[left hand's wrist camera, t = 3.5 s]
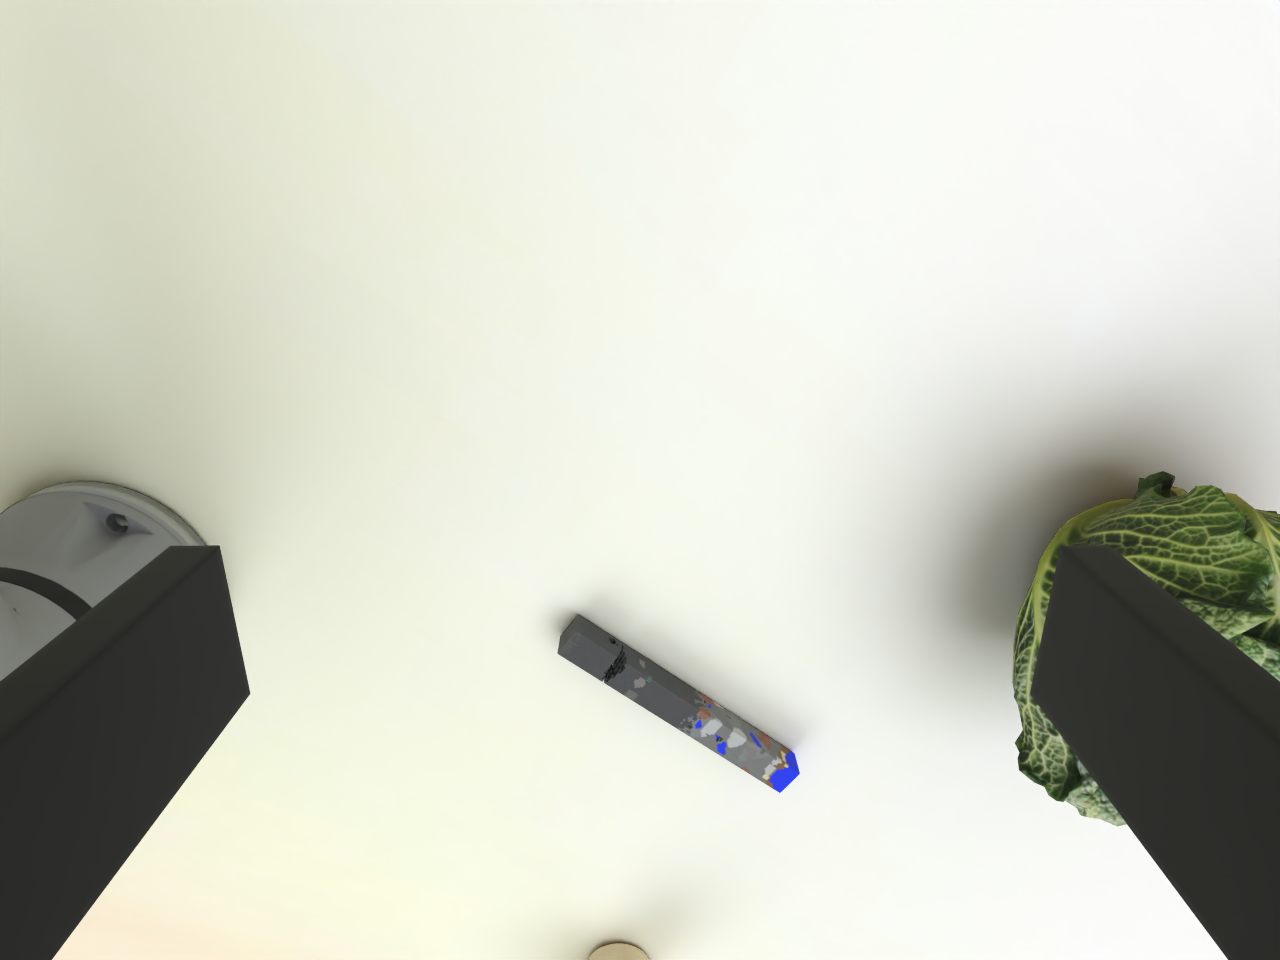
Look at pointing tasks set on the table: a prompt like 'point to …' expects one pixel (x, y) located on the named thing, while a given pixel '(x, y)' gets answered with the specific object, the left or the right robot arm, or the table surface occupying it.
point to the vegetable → (1182, 565)
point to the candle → (618, 953)
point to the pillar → (677, 703)
